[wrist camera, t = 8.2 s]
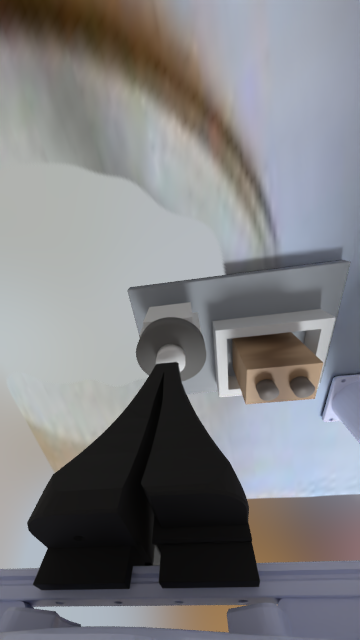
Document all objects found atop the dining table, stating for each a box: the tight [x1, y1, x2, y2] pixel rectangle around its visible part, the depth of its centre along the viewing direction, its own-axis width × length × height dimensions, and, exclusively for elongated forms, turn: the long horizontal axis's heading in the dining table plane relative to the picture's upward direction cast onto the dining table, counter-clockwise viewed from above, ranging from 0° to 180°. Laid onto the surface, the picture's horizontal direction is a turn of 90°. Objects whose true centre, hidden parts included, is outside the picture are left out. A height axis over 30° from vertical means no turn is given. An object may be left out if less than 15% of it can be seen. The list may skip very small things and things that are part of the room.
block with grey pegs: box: [232, 332, 323, 404], centre depth 18 cm, size 6×4×6 cm, turn 98°
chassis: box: [128, 260, 351, 397], centre depth 19 cm, size 20×14×4 cm
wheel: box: [136, 302, 206, 381], centre depth 15 cm, size 5×5×5 cm
